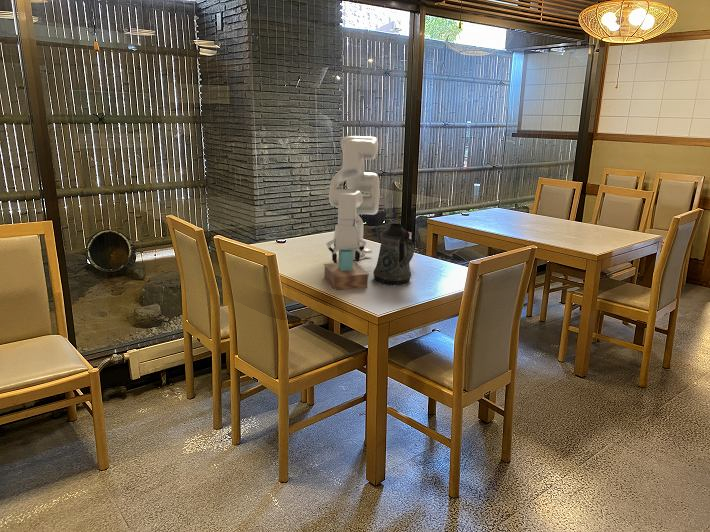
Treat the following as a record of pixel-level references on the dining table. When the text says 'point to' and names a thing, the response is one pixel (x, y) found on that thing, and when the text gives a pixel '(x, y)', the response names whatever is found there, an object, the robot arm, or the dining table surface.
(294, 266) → the dining table surface
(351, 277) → the walnut box
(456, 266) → the dining table surface
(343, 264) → the teal block
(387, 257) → the beer stein
